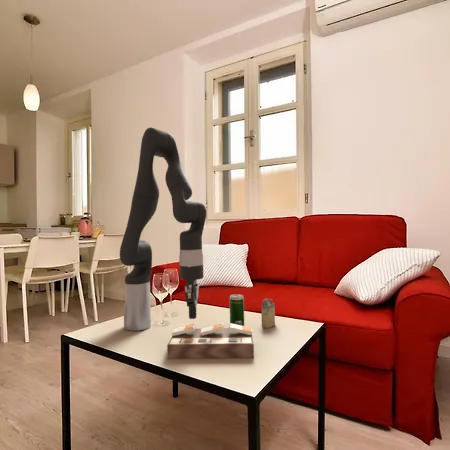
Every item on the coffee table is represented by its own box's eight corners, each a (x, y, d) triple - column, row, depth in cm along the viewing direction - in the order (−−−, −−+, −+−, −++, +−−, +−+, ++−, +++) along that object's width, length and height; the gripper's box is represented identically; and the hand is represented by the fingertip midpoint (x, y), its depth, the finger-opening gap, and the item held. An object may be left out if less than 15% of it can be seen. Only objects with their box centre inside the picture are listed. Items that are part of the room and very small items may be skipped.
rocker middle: (201, 335, 95) (200, 332, 95) (202, 331, 99) (201, 328, 99) (223, 330, 95) (222, 326, 95) (223, 326, 99) (222, 322, 99)
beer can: (246, 328, 113) (246, 296, 113) (233, 330, 112) (232, 297, 112) (241, 324, 118) (240, 293, 118) (228, 326, 117) (227, 294, 117)
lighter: (268, 322, 121) (267, 296, 121) (277, 323, 118) (276, 298, 118) (259, 327, 115) (259, 300, 115) (269, 329, 113) (268, 301, 113)
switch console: (167, 358, 89) (167, 342, 89) (176, 340, 103) (176, 326, 103) (253, 357, 88) (253, 341, 88) (251, 339, 102) (250, 325, 102)
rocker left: (172, 336, 96) (171, 332, 96) (174, 331, 100) (174, 328, 100) (194, 330, 95) (193, 327, 95) (195, 326, 99) (194, 323, 99)
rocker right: (229, 330, 95) (230, 326, 95) (229, 326, 99) (230, 322, 99) (251, 335, 95) (252, 331, 95) (250, 330, 99) (251, 327, 99)
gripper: (183, 261, 104) (184, 312, 104) (175, 266, 91) (177, 325, 91) (205, 261, 104) (206, 312, 104) (200, 266, 91) (202, 324, 91)
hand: (192, 318), depth 97 cm, fingers closed
